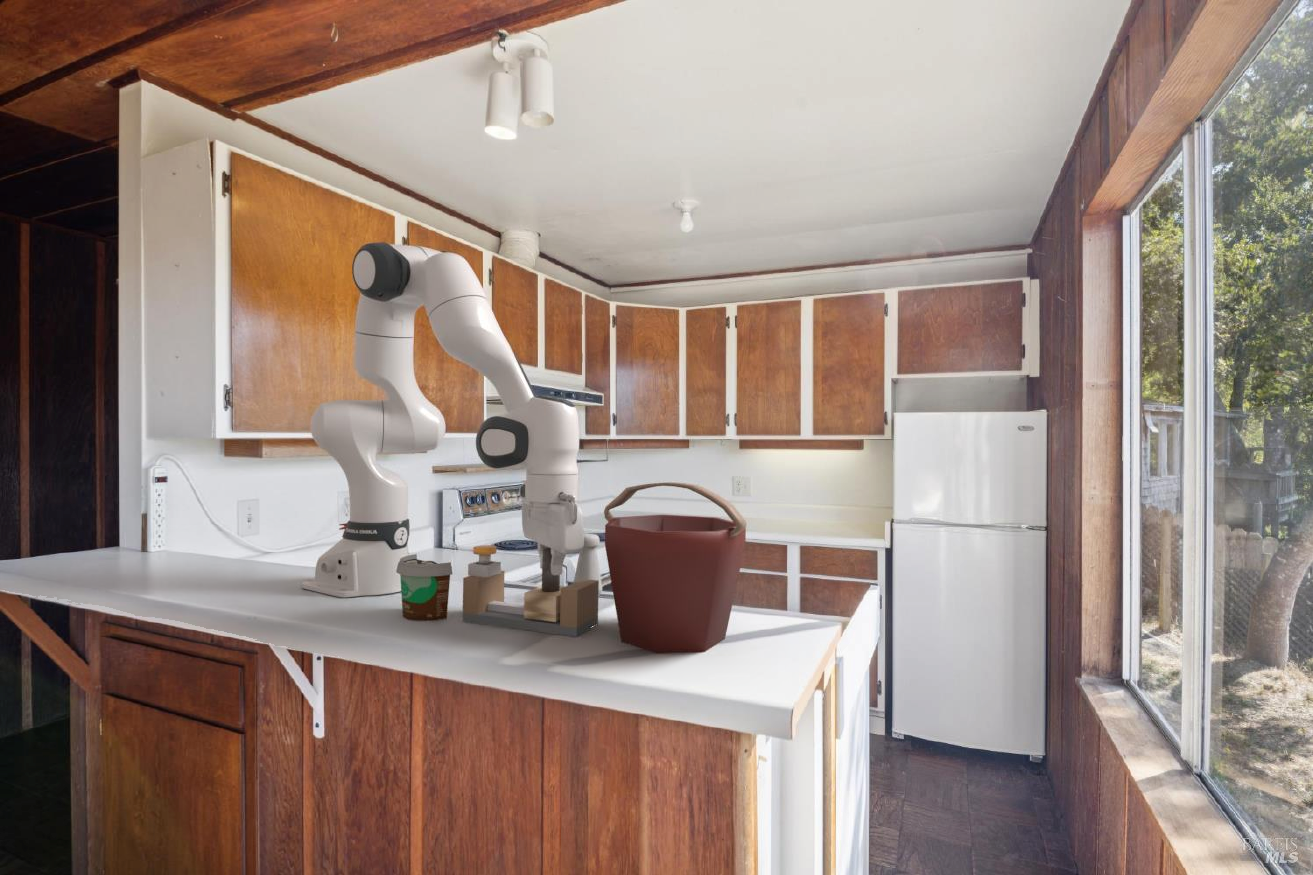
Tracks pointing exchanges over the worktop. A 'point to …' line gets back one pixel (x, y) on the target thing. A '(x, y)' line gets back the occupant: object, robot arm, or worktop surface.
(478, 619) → the rail board
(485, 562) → the knob
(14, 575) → the worktop surface
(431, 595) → the food container
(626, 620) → the bucket
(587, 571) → the salt shaker
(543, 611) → the carriage
